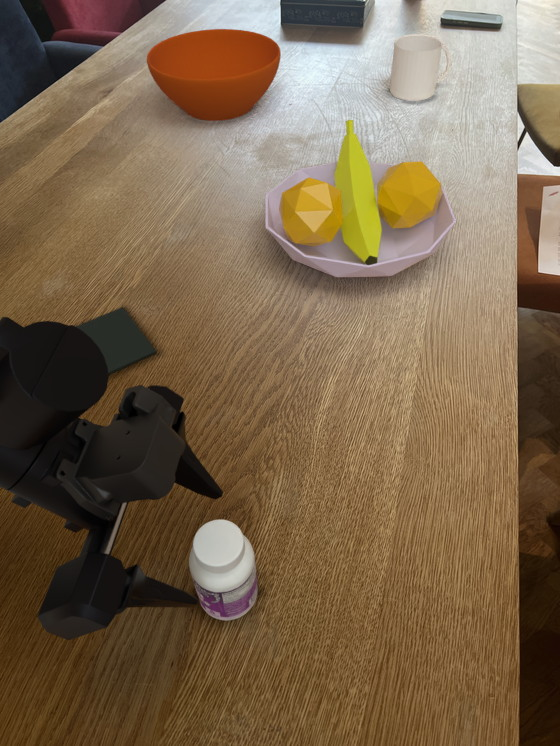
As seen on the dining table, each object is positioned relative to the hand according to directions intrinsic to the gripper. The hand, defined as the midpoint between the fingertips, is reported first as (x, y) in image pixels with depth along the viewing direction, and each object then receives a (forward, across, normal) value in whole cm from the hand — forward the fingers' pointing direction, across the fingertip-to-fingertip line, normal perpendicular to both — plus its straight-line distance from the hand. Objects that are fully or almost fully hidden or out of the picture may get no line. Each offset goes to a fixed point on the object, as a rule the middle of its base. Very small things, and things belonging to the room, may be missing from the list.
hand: (208, 546), depth 48 cm
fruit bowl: (+13, +55, 0) cm, 57 cm away
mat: (-9, +29, +21) cm, 37 cm away
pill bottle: (+7, 0, +6) cm, 9 cm away
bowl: (-8, +98, +20) cm, 100 cm away
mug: (+20, +107, -7) cm, 109 cm away
